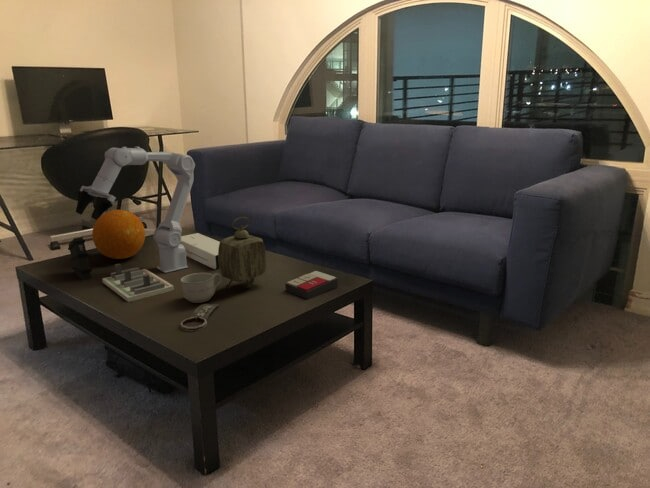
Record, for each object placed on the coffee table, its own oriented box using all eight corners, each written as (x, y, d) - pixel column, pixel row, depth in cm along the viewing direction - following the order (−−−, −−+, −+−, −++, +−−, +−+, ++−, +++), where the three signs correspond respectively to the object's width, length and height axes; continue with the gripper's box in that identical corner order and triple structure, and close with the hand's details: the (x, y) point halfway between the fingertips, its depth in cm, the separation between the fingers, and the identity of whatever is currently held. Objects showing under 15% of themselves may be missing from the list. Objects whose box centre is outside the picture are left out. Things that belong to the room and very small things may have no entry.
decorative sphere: (100, 269, 211) (93, 218, 205) (92, 255, 227) (85, 208, 222) (152, 260, 220) (147, 212, 215) (141, 248, 237) (136, 202, 231)
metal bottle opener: (224, 307, 175) (223, 301, 174) (201, 333, 157) (201, 327, 156) (200, 306, 176) (200, 300, 176) (176, 332, 158) (175, 325, 158)
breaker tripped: (149, 287, 187) (147, 274, 185) (151, 288, 186) (149, 275, 184) (143, 288, 185) (142, 275, 184) (145, 290, 184) (144, 276, 183)
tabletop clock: (253, 278, 199) (250, 211, 192) (269, 284, 192) (266, 215, 185) (220, 289, 189) (215, 218, 182) (235, 296, 183) (231, 223, 176)
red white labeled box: (284, 281, 186) (315, 268, 196) (285, 293, 187) (316, 279, 197) (306, 289, 178) (338, 276, 188) (307, 301, 180) (338, 287, 190)
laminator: (175, 251, 233) (174, 237, 231) (201, 245, 241) (200, 232, 239) (216, 271, 208) (215, 255, 206) (244, 264, 216) (243, 249, 214)
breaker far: (121, 275, 198) (119, 263, 197) (122, 277, 197) (121, 264, 195) (115, 277, 197) (113, 264, 195) (117, 278, 196) (115, 265, 194)
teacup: (187, 308, 173) (184, 284, 171) (179, 297, 182) (176, 274, 180) (229, 300, 179) (227, 277, 177) (219, 289, 189) (218, 267, 186)
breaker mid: (130, 282, 191) (129, 269, 190) (132, 283, 190) (130, 270, 189) (125, 283, 190) (123, 270, 189) (126, 285, 189) (125, 271, 188)
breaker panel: (145, 272, 206) (144, 265, 205) (173, 289, 189) (173, 281, 188) (102, 282, 196) (101, 274, 196) (128, 301, 179) (127, 293, 178)
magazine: (83, 278, 196) (73, 238, 197) (76, 284, 207) (66, 246, 207) (94, 276, 198) (84, 236, 199) (86, 282, 209) (76, 244, 210)
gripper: (81, 170, 183) (62, 206, 181) (111, 179, 177) (92, 216, 174) (96, 179, 190) (78, 214, 187) (126, 188, 183) (107, 224, 180)
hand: (86, 216), depth 181 cm, fingers open, 7 cm apart
